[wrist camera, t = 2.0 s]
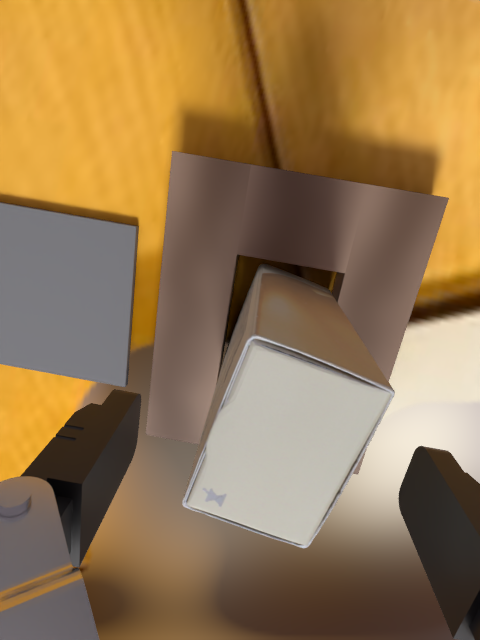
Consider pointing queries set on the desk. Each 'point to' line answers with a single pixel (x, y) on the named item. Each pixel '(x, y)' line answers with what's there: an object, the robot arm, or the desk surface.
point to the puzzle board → (282, 246)
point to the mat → (66, 293)
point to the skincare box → (286, 412)
